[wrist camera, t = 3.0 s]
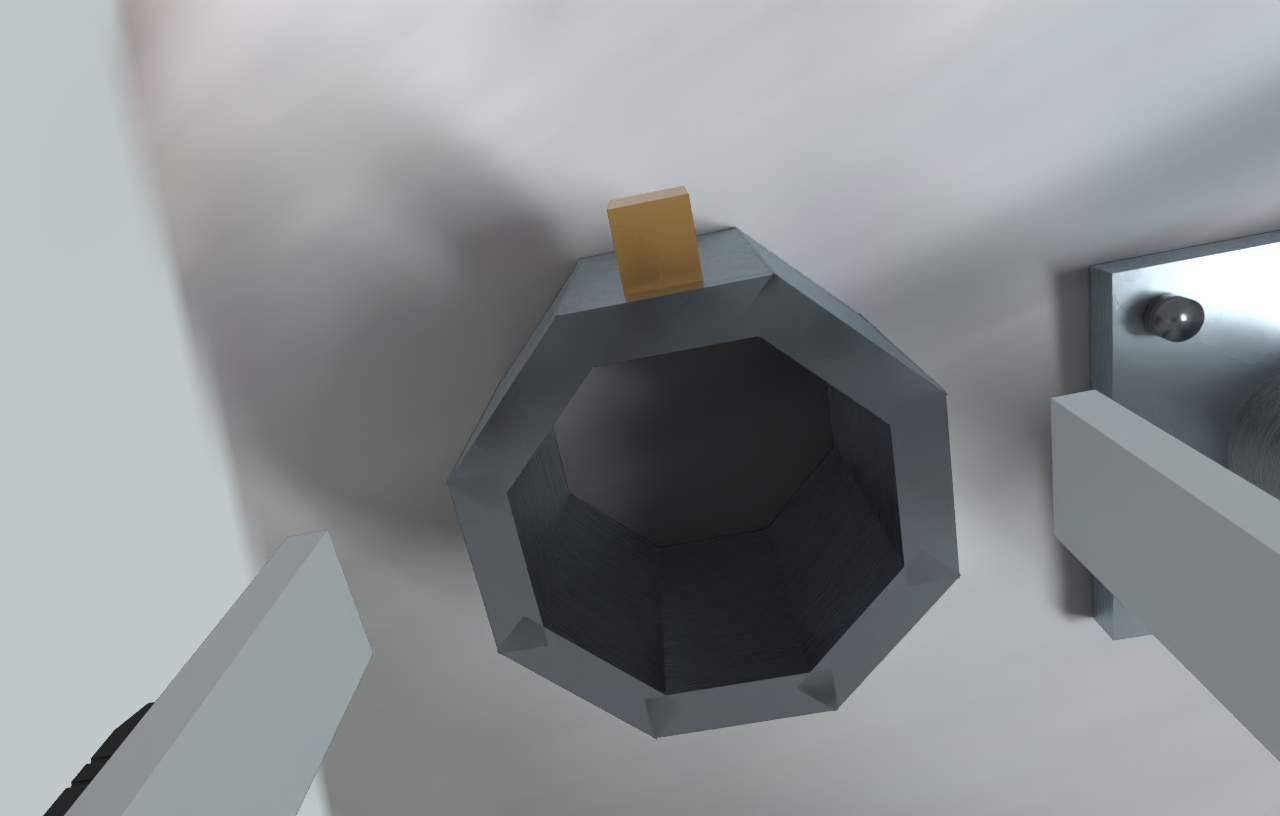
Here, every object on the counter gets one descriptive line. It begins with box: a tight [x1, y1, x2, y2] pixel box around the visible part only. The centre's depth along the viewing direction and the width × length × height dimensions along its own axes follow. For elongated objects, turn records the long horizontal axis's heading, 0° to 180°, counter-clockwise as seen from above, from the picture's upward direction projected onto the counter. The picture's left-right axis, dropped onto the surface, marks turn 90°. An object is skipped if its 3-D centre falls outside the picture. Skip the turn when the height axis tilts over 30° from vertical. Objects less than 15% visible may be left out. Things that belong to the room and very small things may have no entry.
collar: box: [447, 186, 960, 739], centre depth 18 cm, size 10×9×6 cm
